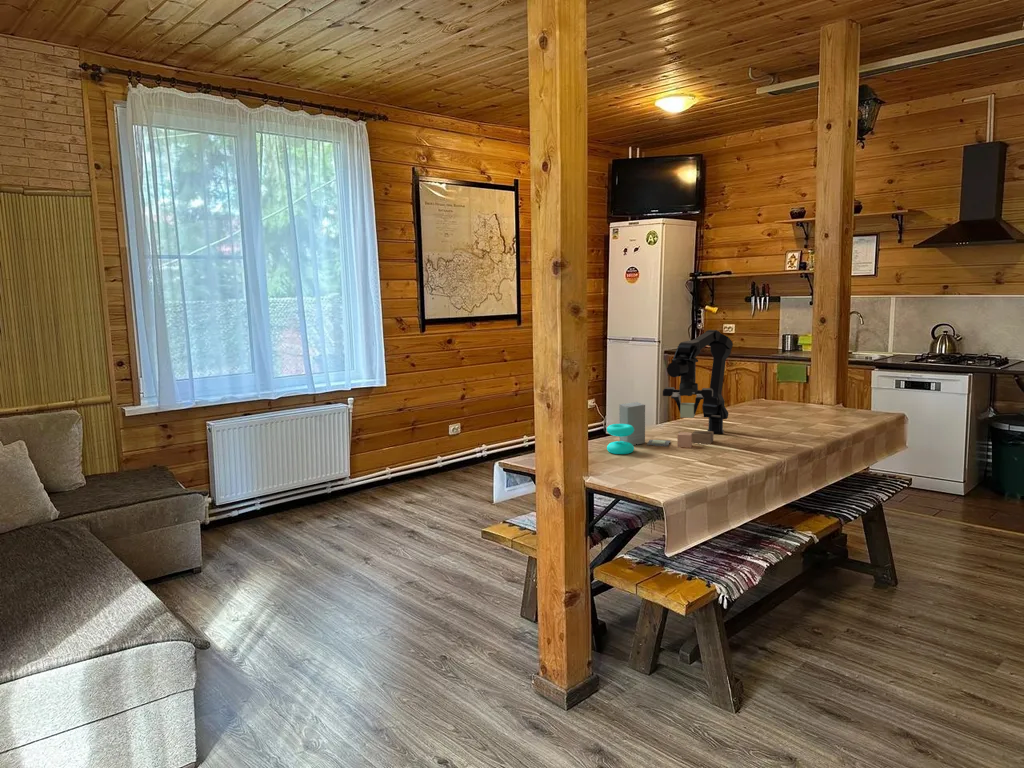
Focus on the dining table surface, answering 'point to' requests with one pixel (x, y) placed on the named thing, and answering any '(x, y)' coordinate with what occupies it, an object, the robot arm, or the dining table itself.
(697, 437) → the walnut block
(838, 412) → the dining table surface
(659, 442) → the card
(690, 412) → the sage cube
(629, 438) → the skincare box
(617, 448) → the donuts
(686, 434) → the terracotta cube
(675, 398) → the robot arm
